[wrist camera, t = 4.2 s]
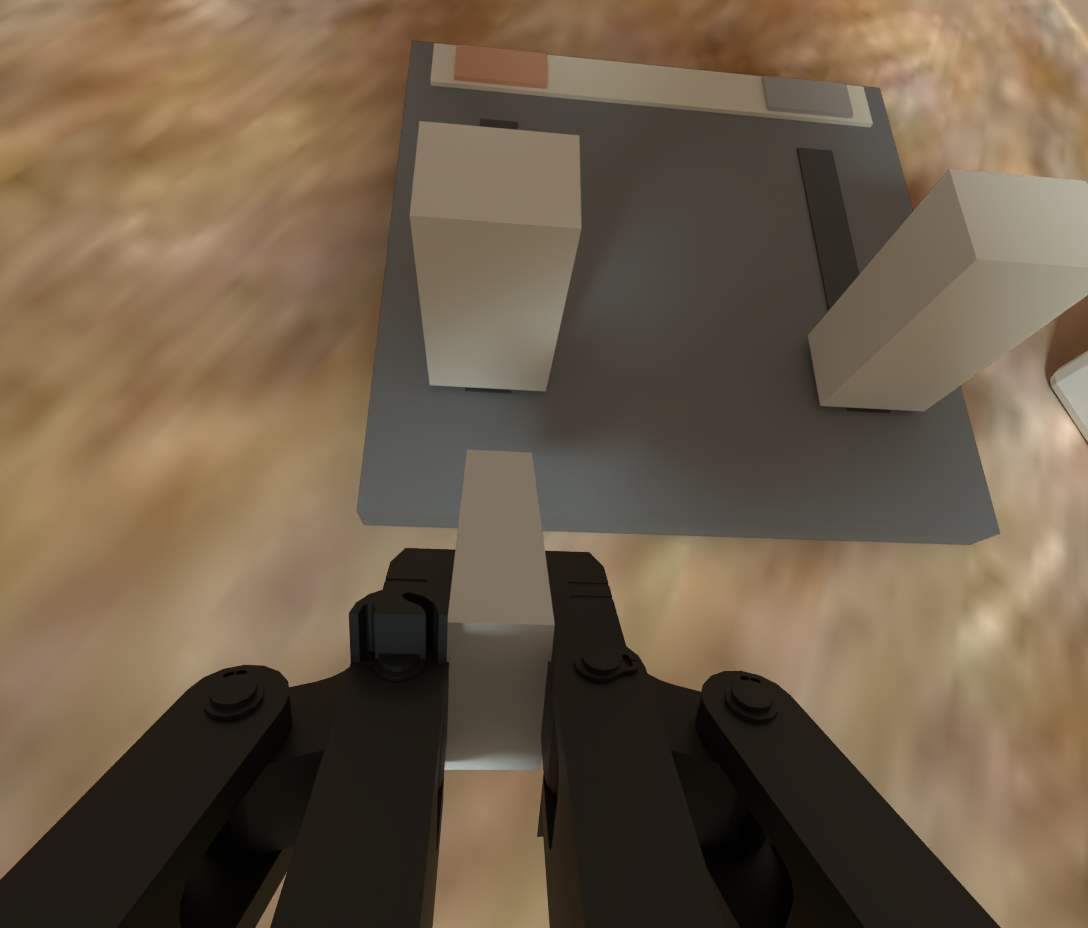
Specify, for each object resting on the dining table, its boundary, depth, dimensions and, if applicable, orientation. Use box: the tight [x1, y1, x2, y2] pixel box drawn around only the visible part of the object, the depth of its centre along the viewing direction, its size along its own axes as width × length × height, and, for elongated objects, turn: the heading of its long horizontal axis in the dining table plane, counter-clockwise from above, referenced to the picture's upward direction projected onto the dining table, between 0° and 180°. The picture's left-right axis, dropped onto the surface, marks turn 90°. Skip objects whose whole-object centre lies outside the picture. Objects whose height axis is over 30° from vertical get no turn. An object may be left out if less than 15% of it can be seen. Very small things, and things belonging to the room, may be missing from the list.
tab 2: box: [808, 169, 1088, 411], centre depth 21 cm, size 3×4×8 cm
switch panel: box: [357, 41, 1000, 545], centre depth 27 cm, size 22×22×2 cm
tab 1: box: [410, 121, 581, 391], centre depth 20 cm, size 3×4×8 cm
